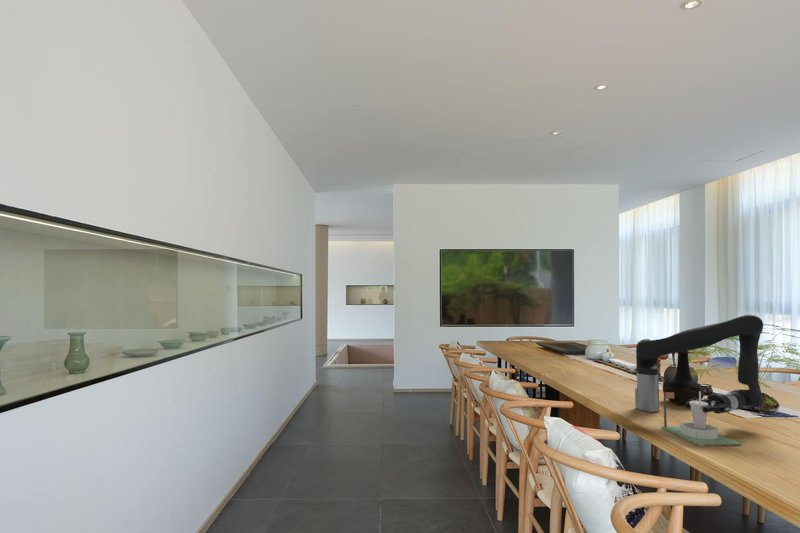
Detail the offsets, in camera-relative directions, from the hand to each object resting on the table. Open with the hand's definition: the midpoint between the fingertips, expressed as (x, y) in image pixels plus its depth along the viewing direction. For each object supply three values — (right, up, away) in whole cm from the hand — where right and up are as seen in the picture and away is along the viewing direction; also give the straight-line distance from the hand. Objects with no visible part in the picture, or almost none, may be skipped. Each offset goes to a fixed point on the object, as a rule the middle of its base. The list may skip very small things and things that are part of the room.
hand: (695, 407), depth 181 cm
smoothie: (+2, -8, +1) cm, 9 cm away
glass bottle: (+27, -14, +52) cm, 60 cm away
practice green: (+2, -12, +1) cm, 12 cm away
